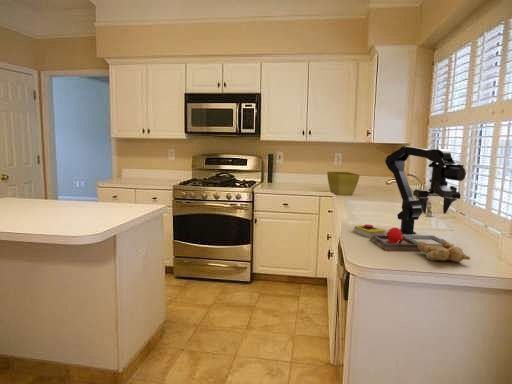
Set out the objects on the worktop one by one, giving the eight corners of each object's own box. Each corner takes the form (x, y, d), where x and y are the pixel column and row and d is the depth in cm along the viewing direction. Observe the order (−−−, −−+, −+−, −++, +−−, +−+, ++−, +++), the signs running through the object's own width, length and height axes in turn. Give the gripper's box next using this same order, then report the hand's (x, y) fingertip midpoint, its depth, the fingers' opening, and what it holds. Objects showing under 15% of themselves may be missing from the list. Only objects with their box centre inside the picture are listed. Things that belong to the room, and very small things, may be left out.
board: (370, 240, 162) (370, 234, 161) (403, 240, 163) (403, 235, 163) (385, 250, 147) (385, 244, 146) (421, 251, 148) (422, 245, 148)
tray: (402, 237, 168) (403, 234, 168) (433, 238, 170) (433, 235, 169) (420, 247, 154) (420, 243, 154) (453, 248, 155) (453, 244, 155)
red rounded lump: (387, 231, 160) (384, 226, 155) (402, 228, 157) (398, 223, 153) (390, 249, 156) (386, 244, 151) (405, 246, 153) (402, 241, 149)
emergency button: (366, 221, 180) (390, 229, 167) (366, 230, 181) (389, 238, 168) (351, 222, 176) (373, 230, 163) (350, 231, 177) (373, 240, 164)
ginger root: (474, 266, 129) (471, 243, 128) (425, 270, 133) (421, 248, 133) (463, 254, 144) (459, 234, 143) (418, 259, 148) (415, 239, 148)
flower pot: (358, 195, 292) (360, 174, 290) (337, 196, 287) (338, 174, 284) (345, 192, 310) (347, 172, 308) (325, 192, 304) (326, 171, 302)
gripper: (427, 179, 155) (423, 216, 157) (470, 181, 156) (465, 217, 159) (414, 176, 166) (410, 211, 168) (455, 178, 167) (450, 212, 170)
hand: (434, 213), depth 166 cm, fingers open, 9 cm apart
